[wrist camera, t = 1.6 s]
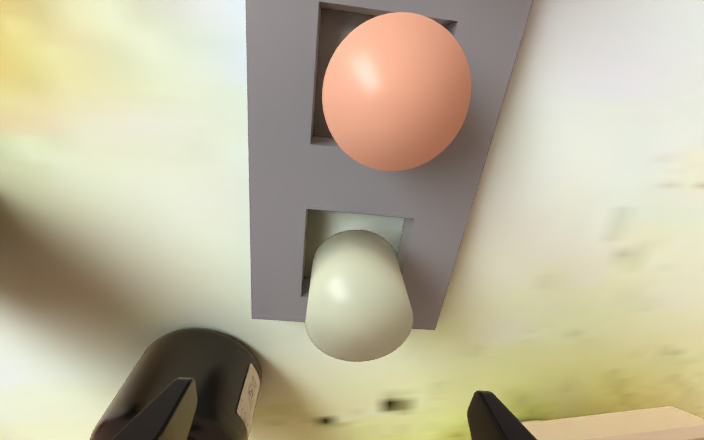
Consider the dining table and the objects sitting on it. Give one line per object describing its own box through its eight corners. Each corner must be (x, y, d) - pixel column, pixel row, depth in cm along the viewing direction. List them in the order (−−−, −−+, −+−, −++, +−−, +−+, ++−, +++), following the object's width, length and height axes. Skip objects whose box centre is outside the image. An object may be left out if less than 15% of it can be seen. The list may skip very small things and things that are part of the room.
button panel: (427, 309, 24) (434, 329, 22) (258, 298, 23) (251, 318, 21) (608, -348, 11) (659, -423, 10) (253, -436, 10) (235, -540, 9)
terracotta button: (422, 147, 16) (450, 177, 12) (322, 137, 15) (316, 164, 11) (446, 33, 14) (490, 24, 10) (331, 18, 13) (328, 0, 9)
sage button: (389, 303, 20) (402, 364, 16) (309, 298, 20) (302, 358, 16) (404, 233, 18) (423, 283, 14) (315, 226, 17) (308, 275, 14)
